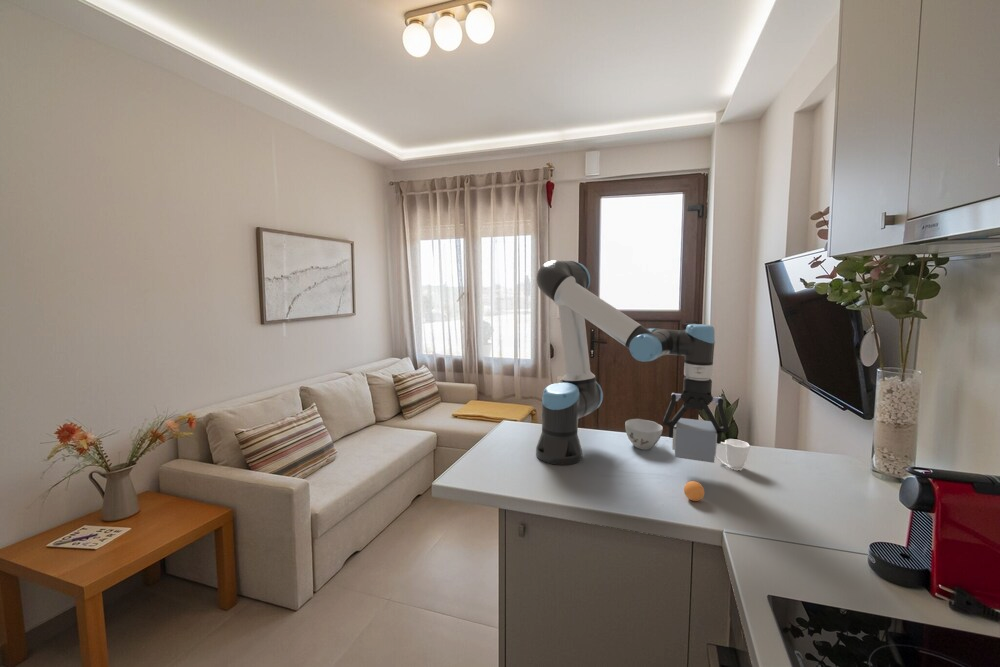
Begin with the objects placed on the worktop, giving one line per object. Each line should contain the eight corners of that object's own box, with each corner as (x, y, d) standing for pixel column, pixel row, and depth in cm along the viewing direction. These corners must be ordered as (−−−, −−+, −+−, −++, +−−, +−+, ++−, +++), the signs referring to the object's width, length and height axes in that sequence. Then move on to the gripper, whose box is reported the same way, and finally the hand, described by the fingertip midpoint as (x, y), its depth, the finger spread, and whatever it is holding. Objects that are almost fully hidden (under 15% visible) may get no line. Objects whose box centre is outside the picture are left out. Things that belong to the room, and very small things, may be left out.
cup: (745, 474, 128) (747, 449, 127) (709, 465, 134) (711, 440, 133) (750, 467, 133) (752, 442, 132) (715, 458, 140) (717, 434, 139)
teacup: (649, 457, 140) (650, 433, 139) (616, 445, 149) (617, 423, 148) (671, 445, 150) (673, 423, 149) (639, 435, 159) (640, 414, 158)
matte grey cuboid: (675, 457, 123) (676, 428, 122) (674, 444, 132) (675, 417, 131) (714, 462, 119) (716, 432, 118) (710, 449, 129) (712, 421, 127)
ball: (683, 502, 112) (684, 484, 111) (682, 493, 116) (684, 476, 116) (704, 506, 110) (705, 488, 109) (702, 497, 115) (704, 479, 114)
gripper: (655, 377, 124) (652, 449, 126) (744, 383, 115) (738, 461, 118) (656, 372, 131) (653, 441, 133) (740, 378, 122) (734, 451, 125)
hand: (693, 450), depth 126 cm, fingers closed on matte grey cuboid, 10 cm apart
